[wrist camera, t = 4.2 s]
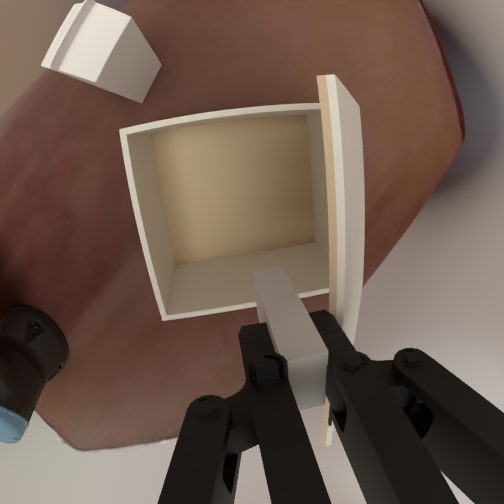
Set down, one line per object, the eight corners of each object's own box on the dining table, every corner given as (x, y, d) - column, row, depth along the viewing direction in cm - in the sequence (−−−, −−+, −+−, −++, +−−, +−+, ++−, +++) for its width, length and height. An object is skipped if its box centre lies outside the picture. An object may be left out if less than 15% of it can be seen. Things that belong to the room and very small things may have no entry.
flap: (320, 444, 16) (330, 446, 16) (316, 75, 9) (334, 74, 8) (357, 284, 34) (362, 284, 33) (353, 106, 26) (359, 106, 26)
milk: (162, 65, 34) (125, 1, 14) (142, 104, 36) (82, 77, 15) (124, 51, 32) (60, -11, 12) (104, 90, 34) (21, 60, 14)
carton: (172, 267, 45) (162, 320, 32) (147, 130, 37) (119, 129, 24) (317, 244, 47) (357, 286, 34) (308, 110, 39) (353, 102, 26)
